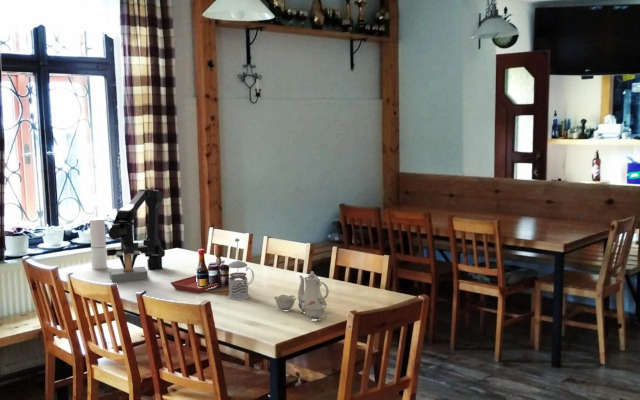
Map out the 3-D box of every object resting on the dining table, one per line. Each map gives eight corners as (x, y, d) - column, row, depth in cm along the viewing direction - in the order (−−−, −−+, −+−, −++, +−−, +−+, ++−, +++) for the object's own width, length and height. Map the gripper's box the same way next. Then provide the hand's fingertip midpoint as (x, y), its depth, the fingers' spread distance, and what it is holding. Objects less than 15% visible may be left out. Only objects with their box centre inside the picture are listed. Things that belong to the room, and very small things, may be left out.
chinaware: (267, 315, 263) (263, 274, 259) (297, 302, 274) (294, 263, 271) (318, 330, 243) (315, 286, 240) (349, 315, 255) (346, 273, 252)
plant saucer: (227, 286, 303) (227, 279, 302) (199, 295, 288) (199, 287, 287) (197, 281, 313) (197, 274, 312) (169, 290, 298) (169, 282, 297)
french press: (224, 295, 286) (222, 237, 283) (250, 292, 290) (249, 235, 287) (229, 301, 277) (228, 241, 274) (257, 298, 281) (255, 239, 278)
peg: (131, 273, 320) (131, 253, 319) (132, 275, 317) (131, 254, 316) (124, 274, 319) (123, 253, 317) (125, 275, 316) (124, 254, 314)
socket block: (144, 274, 326) (144, 266, 326) (147, 279, 315) (147, 271, 315) (110, 277, 320) (109, 269, 320) (112, 283, 309) (111, 274, 309)
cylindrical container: (109, 266, 347) (106, 218, 344) (103, 269, 339) (101, 220, 337) (95, 265, 347) (93, 218, 344) (89, 268, 340) (87, 220, 337)
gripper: (107, 240, 305) (109, 273, 306) (149, 237, 312) (150, 270, 313) (105, 236, 315) (107, 268, 317) (146, 233, 322) (147, 265, 324)
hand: (128, 268), depth 317 cm, fingers closed on peg, 3 cm apart
